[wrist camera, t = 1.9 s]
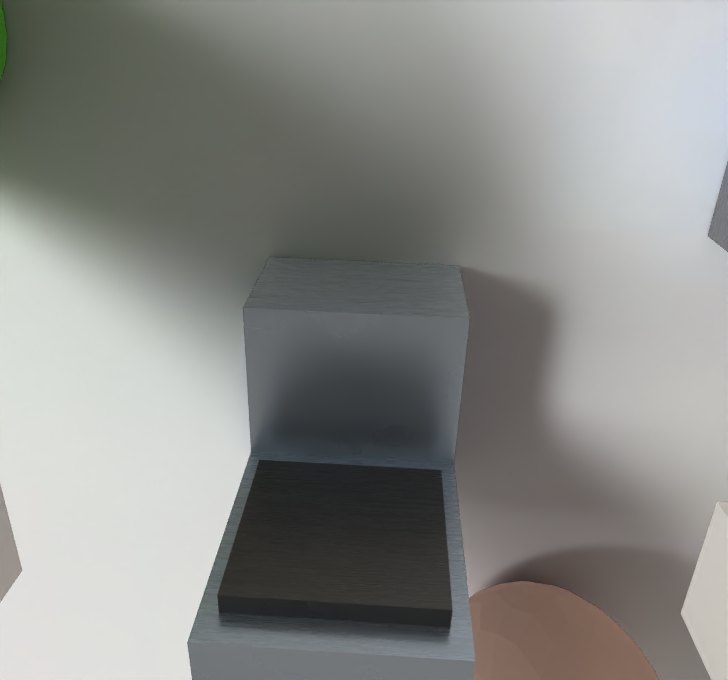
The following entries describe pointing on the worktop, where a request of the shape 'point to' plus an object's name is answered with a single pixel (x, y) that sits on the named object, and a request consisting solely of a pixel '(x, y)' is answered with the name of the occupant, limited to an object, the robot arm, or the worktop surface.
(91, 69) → the worktop surface
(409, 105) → the worktop surface
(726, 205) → the rail
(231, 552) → the l-shaped step block
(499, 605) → the egg
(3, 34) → the cup
